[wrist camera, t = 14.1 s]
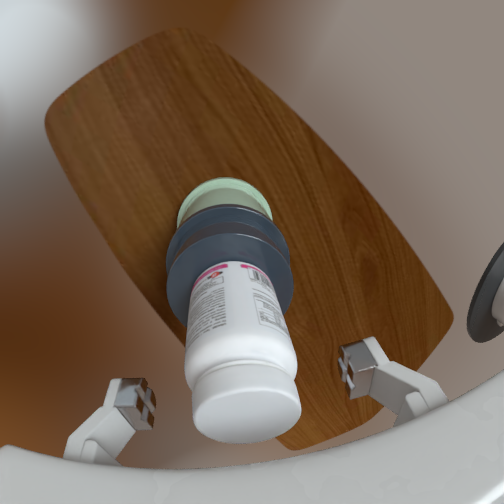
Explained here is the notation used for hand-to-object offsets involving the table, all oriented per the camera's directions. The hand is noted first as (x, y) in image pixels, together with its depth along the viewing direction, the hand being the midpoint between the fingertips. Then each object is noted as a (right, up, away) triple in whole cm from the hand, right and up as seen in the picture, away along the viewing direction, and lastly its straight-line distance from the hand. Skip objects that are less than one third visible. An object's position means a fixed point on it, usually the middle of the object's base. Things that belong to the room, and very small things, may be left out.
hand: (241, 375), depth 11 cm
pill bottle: (-1, +3, +6) cm, 7 cm away
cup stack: (-2, +8, +16) cm, 18 cm away
